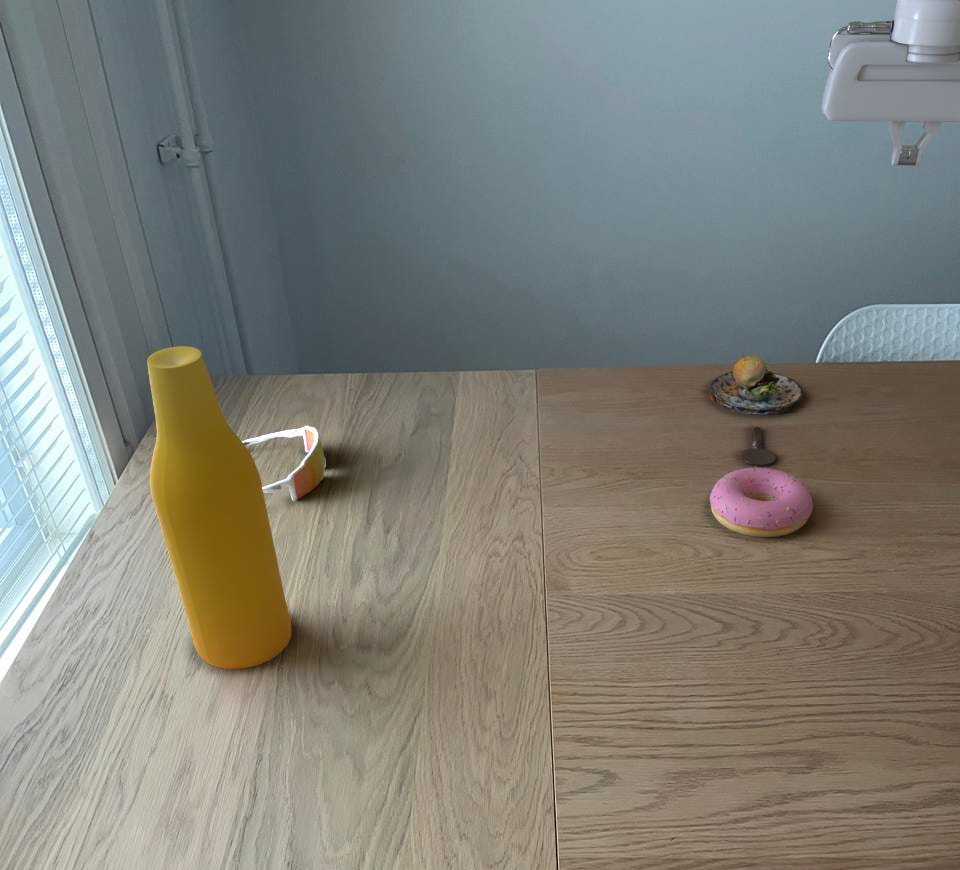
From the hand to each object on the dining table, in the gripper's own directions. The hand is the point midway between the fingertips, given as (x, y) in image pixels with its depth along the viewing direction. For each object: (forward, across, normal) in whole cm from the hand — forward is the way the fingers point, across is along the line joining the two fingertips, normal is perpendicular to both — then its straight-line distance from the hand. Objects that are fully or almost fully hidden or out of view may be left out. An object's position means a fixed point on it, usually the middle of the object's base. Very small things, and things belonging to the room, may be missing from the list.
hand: (905, 164), depth 111 cm
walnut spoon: (+29, -13, -16) cm, 35 cm away
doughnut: (+29, -13, -30) cm, 44 cm away
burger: (+29, -12, -1) cm, 32 cm away
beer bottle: (+29, -62, -59) cm, 90 cm away
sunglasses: (+30, -71, -29) cm, 82 cm away
